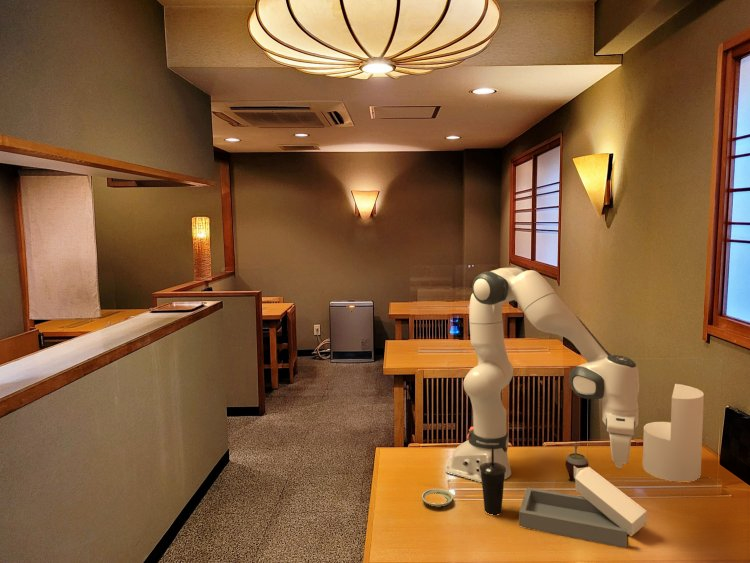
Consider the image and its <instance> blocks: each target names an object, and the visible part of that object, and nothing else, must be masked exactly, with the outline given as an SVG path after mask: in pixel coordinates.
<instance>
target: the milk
mask: <svg viewBox="0 0 750 563" xmlns="http://www.w3.org/2000/svg"><path fill="white" fill-rule="evenodd" d="M574 479H575V492H577V493H578V494H579V495H581V496H582V497H584V498H585V499H587V500H588V501H589V502H590V503H591V504H593V505H594V506H595V507H596V508H597V509H599V510H600V511H601V512H602V513H603V514H605V515H606V516H607V517H608V518H610V519H611V520H612V521H613V522H614V523H616V524H617V525H618V526H619V527H620V528H625V529H627V535H629V536H630V537H632V536H634V535H635V534H636V533H637V532H638V531H640V530H641V528H643V527H644V526H645V525H646V524H647V513H648V512H647V510H646V509H645V508H644V507H642V506H641V505H640V504H638V503H637V502H636V501H634V500H633V499H632V498H630V497H629V496H628V495H627V494H625V493H624V492H623V491H621V490H620V489H619V488H618V487H617V486H615V485H614V484H613V483H611V482H610V481H608V480H607V479H606V478H604V477H603V476H602V475H600V473H598V472H597V471H595V470H594V469H593V468H591V467H590V466H588V467H585V468H576V467H575V466H574Z"/></svg>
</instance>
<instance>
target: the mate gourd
mask: <svg viewBox="0 0 750 563" xmlns="http://www.w3.org/2000/svg"><path fill="white" fill-rule="evenodd" d="M577 449H578V442H575V444H574V452H573V453H570V454H568V455H567V457H566V459H565V467H566V468H565V469H566V471H567V475H568V482H574V480H575V479H574V466H575V467H576V468H585V467H589V461H588V458H587V457H586V456H585V455H584V454H581V453H577V452H578V450H577Z"/></svg>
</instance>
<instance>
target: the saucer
mask: <svg viewBox="0 0 750 563" xmlns="http://www.w3.org/2000/svg"><path fill="white" fill-rule="evenodd" d="M433 493H434V494H435V493H436V494H440V495H443V496H444V497H445V498H446V499H447V501H446V503H441V504H435V503H430V502H427V501H426V500H425V497H426V496H427V495H429V494H433ZM421 494H422V495H421V499H422V502H424V503H425V504H427V505H428V504H429V506H430V505H431V507H433V506H436V507H435V508H442V507H441V506H443V507H445V506H447V505H449V504H450V503H451V502H453V499H454V496H453V494H452V493H451V492H449V490H446V489H442V488H431V489H428V490H425V491H424V492H422V493H421Z"/></svg>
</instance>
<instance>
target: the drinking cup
mask: <svg viewBox="0 0 750 563" xmlns="http://www.w3.org/2000/svg"><path fill="white" fill-rule="evenodd" d="M491 460H492V462H488V463H483V464H481V465H480V471H481V479H482V483H481V487H482V495H483V506H484V512H485V511H486V512H487V513H489V514H493V515H497V514H500V513H501V514H502V508H503V497H504V496H503V495H504V485H505V479H504V477H505V472H506V468H505V466H503V465H502V464H499V463H495V462H494V447H491ZM501 514H500V515H501ZM497 516H498V515H497Z"/></svg>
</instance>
